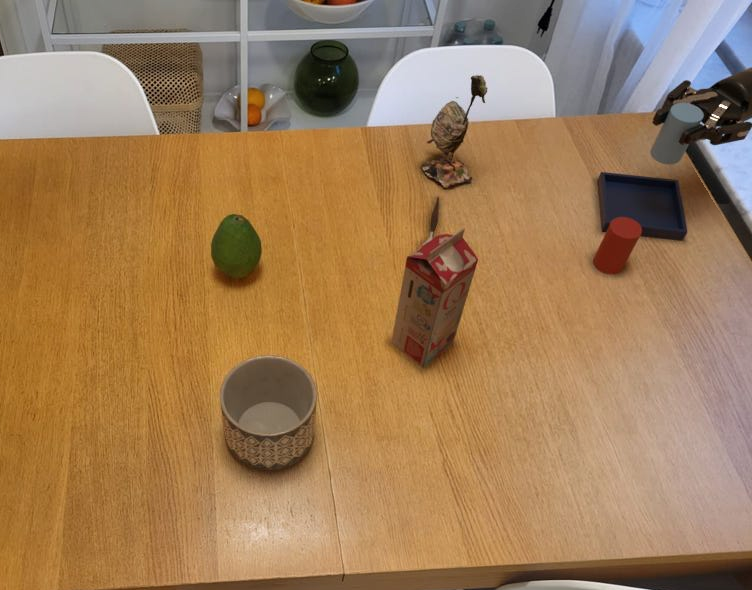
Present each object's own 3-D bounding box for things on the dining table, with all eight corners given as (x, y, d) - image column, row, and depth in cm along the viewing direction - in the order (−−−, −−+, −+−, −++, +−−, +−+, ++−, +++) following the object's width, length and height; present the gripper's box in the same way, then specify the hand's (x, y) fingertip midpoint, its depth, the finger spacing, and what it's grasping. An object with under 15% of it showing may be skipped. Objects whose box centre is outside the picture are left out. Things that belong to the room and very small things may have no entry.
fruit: (232, 246, 128) (228, 191, 118) (271, 265, 125) (270, 211, 115) (204, 275, 124) (197, 221, 114) (243, 296, 121) (239, 242, 111)
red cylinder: (622, 254, 125) (640, 218, 119) (624, 275, 122) (643, 240, 116) (592, 251, 126) (609, 215, 119) (593, 272, 123) (611, 236, 116)
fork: (445, 200, 133) (447, 191, 132) (434, 264, 125) (436, 255, 123) (430, 197, 134) (432, 189, 132) (418, 261, 125) (420, 253, 123)
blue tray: (673, 188, 134) (678, 179, 132) (682, 240, 127) (687, 232, 125) (597, 180, 136) (600, 171, 134) (601, 231, 128) (605, 222, 127)
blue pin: (686, 153, 122) (708, 111, 115) (673, 168, 120) (695, 126, 113) (657, 141, 124) (678, 98, 117) (645, 156, 122) (665, 113, 115)
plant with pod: (453, 147, 142) (475, 47, 125) (475, 186, 135) (501, 87, 119) (412, 153, 141) (429, 54, 124) (432, 193, 134) (453, 94, 118)
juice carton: (452, 344, 115) (483, 240, 97) (423, 368, 113) (449, 266, 94) (420, 319, 118) (444, 214, 100) (391, 342, 115) (410, 238, 97)
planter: (211, 415, 108) (205, 374, 100) (291, 385, 111) (292, 342, 103) (245, 488, 102) (241, 449, 93) (329, 454, 104) (333, 414, 96)
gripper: (722, 50, 121) (644, 83, 117) (797, 97, 114) (716, 134, 109) (701, 91, 127) (626, 124, 123) (770, 138, 120) (693, 175, 116)
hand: (669, 129), depth 116 cm, fingers closed on blue pin, 4 cm apart
